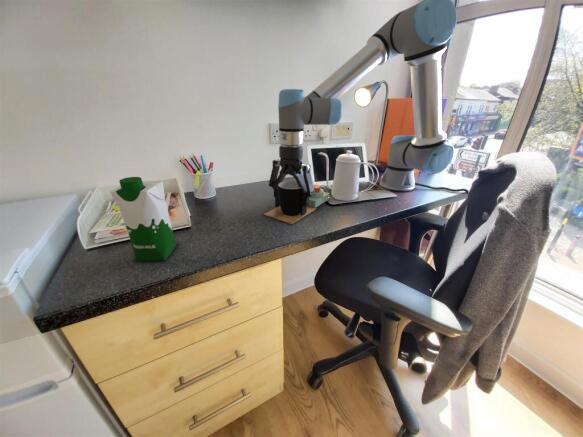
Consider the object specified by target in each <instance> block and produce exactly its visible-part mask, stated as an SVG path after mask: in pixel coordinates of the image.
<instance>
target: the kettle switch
mask: <svg viewBox="0 0 583 437" xmlns="http://www.w3.org/2000/svg"><path fill="white" fill-rule="evenodd" d="M313 187H314V191H315V193H317V192H320V189H321V185H319V184H313Z"/></svg>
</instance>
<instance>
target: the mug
mask: <svg viewBox="0 0 583 437" xmlns="http://www.w3.org/2000/svg"><path fill="white" fill-rule="evenodd" d="M278 193H279V202H280V207H281V211H282V213H283V214H285V215H288V216H295V215H298V214H300V211H301V197H302V196H303V195H302V188H299V186H298V183H297V181H296V180H285V181H284V180H283V182H281V183H279V184H278Z"/></svg>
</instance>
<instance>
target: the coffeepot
mask: <svg viewBox="0 0 583 437" xmlns="http://www.w3.org/2000/svg"><path fill="white" fill-rule="evenodd" d="M317 155H321V156H324V157H325V164H326V166H325V167H326V168H325V169H326V172H325V173H326V177H325V178H326V187H328V188H329V189H330V190H331V193H330V195H331V196H332V195H333V196H332V197H333V198H334V199H335V200H338V201H345V202H349V201H355V200H356V199H357V198H358V197H359V196H360V195H359V194H363V193H365V192H368V191H370V190H371V189H372V188H373V187H374V186H375V185H376V184H377V182H378V180H379V176H380V172H379V169H378V168H377V166H376V165H374V164H373V163H371V162H368V161H367V162H366V161H363V162H361V158H360V156H359V155H358V154H353V150H349V149H348V150H346V153H342V154H339V155H338V156H337V158H336V159H335V160H336V161H335V168H334V175H333V181H332V186H331V184H330V183H329V182H330V181H329V176H330V175H329V172H330V171H329V170H330V169H329V163H330V162H329V156H328V155H327V153H325V152H322V151H321V152H318V153H317ZM361 165H366V166H367V167H369V168H370V171H371V172H372V179H371V183H370V185H368V187H366V188H365V189H364V190H361V191H359V188H360V187H359V186H360V172H361V170H360V169H361ZM373 168H374V169H375V170H376V173H377V176H376V180H375V182H374V178H375V173H374V169H373ZM373 182H374V184H373ZM372 184H373V185H372ZM371 185H372V186H371Z"/></svg>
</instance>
